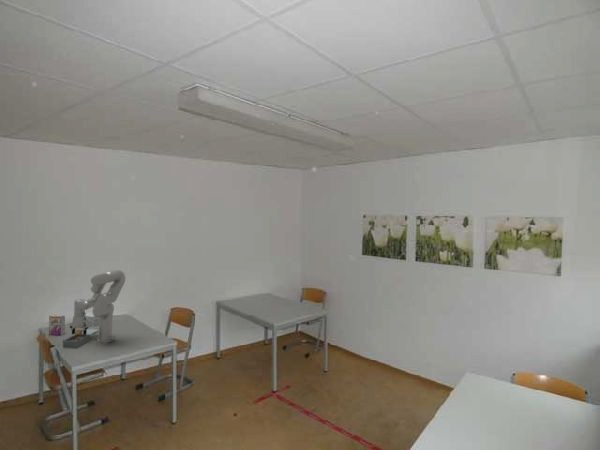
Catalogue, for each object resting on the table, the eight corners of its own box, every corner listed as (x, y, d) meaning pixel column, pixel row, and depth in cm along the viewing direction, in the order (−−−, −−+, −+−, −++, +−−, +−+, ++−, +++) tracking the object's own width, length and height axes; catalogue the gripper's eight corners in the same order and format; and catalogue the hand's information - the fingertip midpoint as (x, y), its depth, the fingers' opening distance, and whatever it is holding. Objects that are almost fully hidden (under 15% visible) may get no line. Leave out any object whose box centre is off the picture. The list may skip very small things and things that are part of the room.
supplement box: (104, 322, 340) (104, 313, 340) (92, 326, 328) (93, 316, 327) (89, 320, 345) (90, 311, 344) (78, 324, 332) (78, 314, 332)
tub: (76, 341, 291) (76, 333, 291) (89, 341, 291) (89, 334, 290) (62, 348, 275) (63, 340, 275) (76, 349, 275) (76, 341, 274)
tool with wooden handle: (87, 330, 316) (87, 323, 316) (98, 331, 316) (98, 324, 316) (71, 339, 296) (71, 331, 295) (83, 339, 295) (83, 331, 295)
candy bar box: (48, 334, 303) (48, 315, 302) (53, 332, 308) (53, 314, 307) (60, 335, 302) (60, 316, 301) (65, 333, 307) (65, 315, 306)
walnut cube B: (78, 344, 282) (78, 339, 282) (76, 346, 278) (76, 341, 278) (72, 344, 281) (72, 339, 281) (70, 346, 277) (70, 341, 277)
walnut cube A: (83, 341, 288) (83, 337, 288) (80, 343, 284) (80, 338, 284) (78, 341, 288) (78, 336, 288) (75, 343, 284) (75, 338, 284)
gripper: (92, 313, 300) (92, 333, 301) (72, 312, 301) (72, 332, 302) (86, 315, 293) (86, 336, 293) (66, 314, 294) (66, 335, 294)
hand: (79, 334), depth 298 cm, fingers open, 9 cm apart
